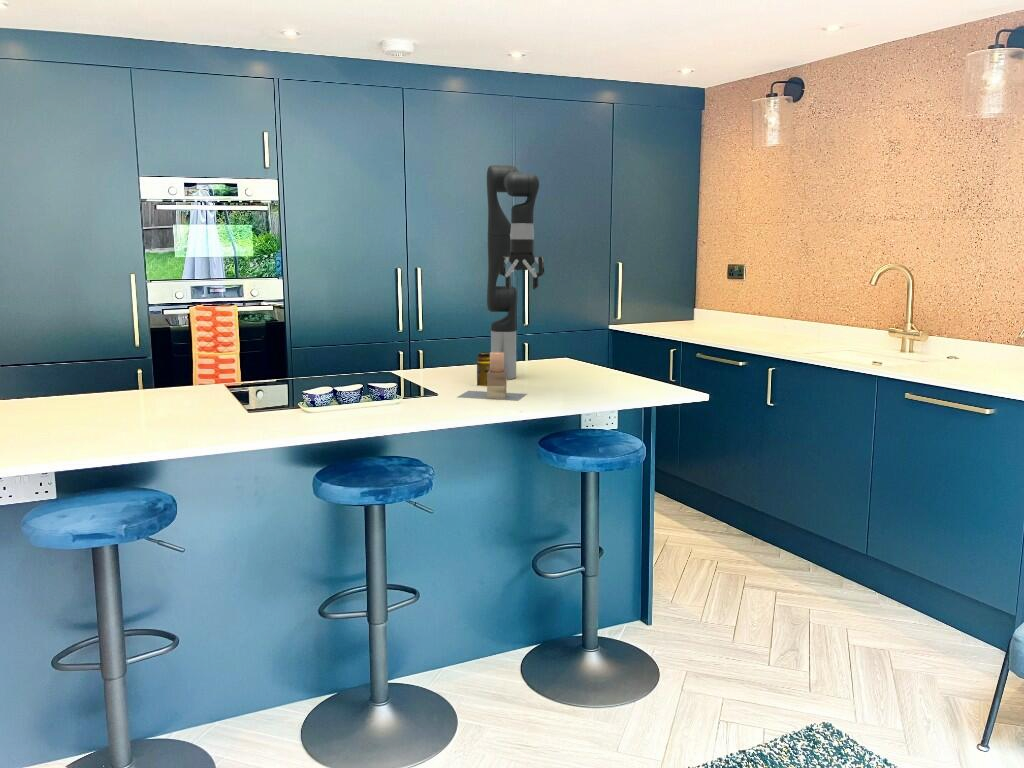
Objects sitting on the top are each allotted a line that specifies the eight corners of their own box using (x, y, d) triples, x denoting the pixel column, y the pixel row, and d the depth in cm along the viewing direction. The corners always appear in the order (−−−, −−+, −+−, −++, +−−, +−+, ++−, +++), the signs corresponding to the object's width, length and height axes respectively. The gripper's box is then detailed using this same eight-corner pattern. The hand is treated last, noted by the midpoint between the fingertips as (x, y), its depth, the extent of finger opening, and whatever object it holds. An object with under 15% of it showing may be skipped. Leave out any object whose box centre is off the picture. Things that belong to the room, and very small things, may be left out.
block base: (489, 395, 266) (489, 382, 265) (506, 395, 265) (506, 383, 265) (487, 398, 260) (487, 385, 260) (504, 398, 260) (504, 386, 259)
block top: (489, 382, 265) (489, 370, 264) (506, 383, 265) (506, 370, 264) (487, 385, 260) (487, 373, 259) (504, 386, 259) (504, 373, 258)
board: (468, 394, 274) (468, 390, 273) (527, 397, 268) (527, 393, 268) (456, 401, 262) (456, 397, 262) (518, 404, 257) (518, 400, 257)
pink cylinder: (492, 370, 264) (492, 351, 263) (505, 371, 263) (505, 352, 262) (488, 372, 260) (488, 353, 259) (501, 373, 259) (501, 353, 258)
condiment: (496, 389, 283) (496, 354, 281) (471, 390, 282) (471, 354, 280) (494, 385, 290) (494, 351, 288) (469, 386, 289) (469, 351, 287)
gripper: (546, 238, 269) (546, 288, 272) (503, 238, 273) (503, 288, 276) (541, 238, 262) (540, 290, 265) (497, 238, 266) (497, 289, 269)
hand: (521, 289), depth 270 cm, fingers open, 8 cm apart
